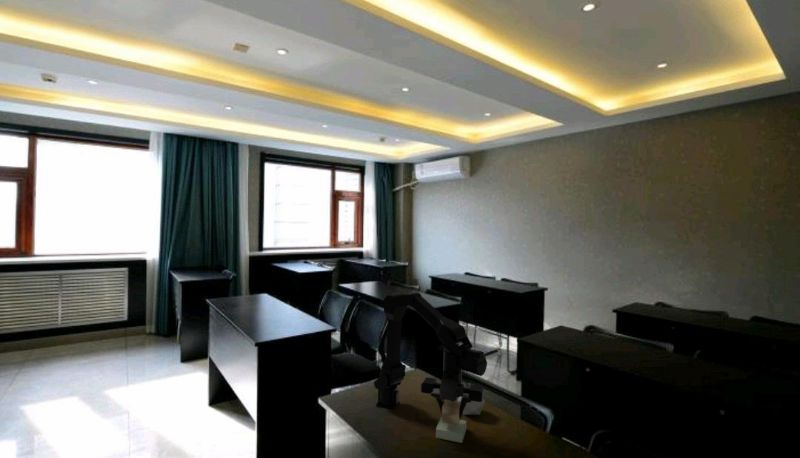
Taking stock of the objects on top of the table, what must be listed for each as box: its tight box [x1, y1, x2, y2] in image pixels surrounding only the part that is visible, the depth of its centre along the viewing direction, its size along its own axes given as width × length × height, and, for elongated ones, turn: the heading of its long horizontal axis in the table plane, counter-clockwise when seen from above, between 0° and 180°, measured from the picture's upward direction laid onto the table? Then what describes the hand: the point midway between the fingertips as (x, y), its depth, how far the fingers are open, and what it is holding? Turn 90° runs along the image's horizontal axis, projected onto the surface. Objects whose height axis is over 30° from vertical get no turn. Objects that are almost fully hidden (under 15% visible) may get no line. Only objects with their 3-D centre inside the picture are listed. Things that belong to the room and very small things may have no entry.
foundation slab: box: [435, 416, 467, 444], centre depth 116 cm, size 8×8×3 cm
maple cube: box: [441, 400, 461, 425], centre depth 116 cm, size 5×5×5 cm
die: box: [456, 397, 486, 416], centre depth 129 cm, size 8×9×10 cm
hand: (451, 416), depth 116 cm, fingers closed on maple cube, 5 cm apart
